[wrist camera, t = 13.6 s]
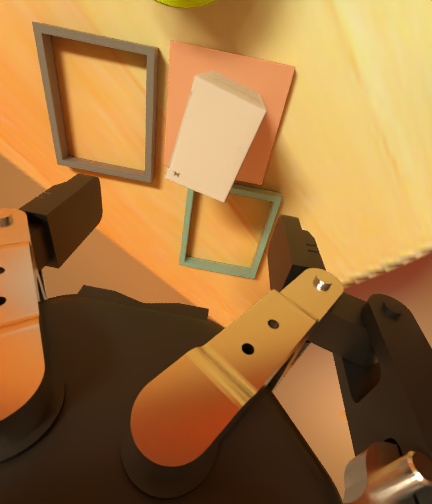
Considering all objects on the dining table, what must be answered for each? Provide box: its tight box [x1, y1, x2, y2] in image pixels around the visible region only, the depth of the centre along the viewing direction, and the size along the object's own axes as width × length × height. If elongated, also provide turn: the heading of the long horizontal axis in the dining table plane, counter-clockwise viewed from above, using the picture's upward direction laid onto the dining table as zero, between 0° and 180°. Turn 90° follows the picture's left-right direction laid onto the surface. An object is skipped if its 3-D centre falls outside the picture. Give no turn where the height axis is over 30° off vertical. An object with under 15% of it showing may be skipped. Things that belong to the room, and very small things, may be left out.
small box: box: [164, 71, 267, 203], centre depth 25 cm, size 8×6×10 cm
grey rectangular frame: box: [32, 22, 159, 183], centre depth 30 cm, size 11×13×2 cm
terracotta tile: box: [164, 40, 295, 185], centre depth 29 cm, size 12×12×1 cm
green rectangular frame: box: [179, 184, 282, 279], centre depth 37 cm, size 11×13×2 cm
